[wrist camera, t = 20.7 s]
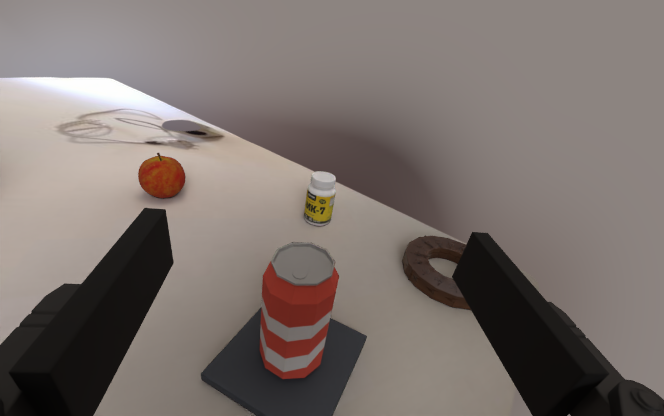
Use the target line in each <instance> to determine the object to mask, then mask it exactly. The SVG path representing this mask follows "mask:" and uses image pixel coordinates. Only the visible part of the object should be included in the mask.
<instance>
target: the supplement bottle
mask: <svg viewBox="0 0 664 416" xmlns="http://www.w3.org/2000/svg"><path fill="white" fill-rule="evenodd" d="M335 180H336V178H335V176H334V175H332V174H331V173H327V172H322V171H321V172H320V171H319V172H314V173H313V174H312V177H311V183H310V184H309V186H308V189H307V197H306V204H305V212H304V218H305V220H306V221H307V222H308V223H310V224H312V225H316V226H323V225H326V224H328V223H329V222H330V220H331V215H332V210H333V205H334V199H335V194H336V189H335V187H334V186H335Z"/></svg>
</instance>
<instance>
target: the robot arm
mask: <svg viewBox="0 0 664 416" xmlns="http://www.w3.org/2000/svg"><path fill="white" fill-rule="evenodd" d="M172 265H173V256H172V249H171V243H170V236H169V229H168V223H167V216H166V210H165V209H151V208H144V209H143V211H142V212H141V213H140V214H139V215H138V217H137V218H136V219H135V220H134V221H133V223H132V224H131V225H130V226H129V227H128V229H127V230H126V231H125V232H124V234H123V235H122V236H121V237H120V238H119V240H118V241H117V242H116V243H115V244H114V246H113V247H112V248H111V249H110V250H109V252H108V253H107V254H106V255H105V256H104V258H103V259H102V260H101V261H100V262H99V264H98V265H97V266H96V267H95V268H94V270H93V271H92V272H91V273H90V274H89V276H88V277H87V278H86V279H85V281H84V282H83V283H82V284H63V285H62V286H60V287H59V288H57V289H56V290H54V291H53V292H51V293H50V294H48V295H46V296H45V297H44V298H43V299H42V300H41V302H40V303H39V304H38V305H37V306H36V307H35V308H34V309H33V310H32V313H31V314H29V315H28V316H27V317H26V318H25V319H24V320H23V321H22V322H21V323H20V326H19V327H16V329H15V330H14V331H13V332H12V333H11V334H10V335H9V336H8V337H7V338H6V339H5V340H4V342H3V343H2V344H1V345H0V416H93V415H94V413H95V412H96V410H97V408H98V406H99V404H100V402H101V400H102V398H103V396H104V394H105V393H106V391H107V389H108V387H109V385H110V383H111V381H112V379H113V377H114V375H115V373H116V372H117V370H118V368H119V366H120V364H121V362H122V360H123V358H124V356H125V354H126V353H127V351H128V349H129V347H130V345H131V343H132V341H133V339H134V337H135V335H136V333H137V332H138V330H139V328H140V326H141V324H142V322H143V320H144V318H145V316H146V314H147V313H148V311H149V309H150V307H151V305H152V303H153V301H154V299H155V297H156V295H157V293H158V292H159V290H160V288H161V286H162V284H163V282H164V280H165V278H166V276H167V274H168V273H169V271H170V269H171V267H172ZM452 278H453V280H454V281H455V283H456V285H457V287H458V288H459V290H460V292H461V293H462V295H463V297H464V299H465V300H466V302H467V304H468V305H469V307H470V309H471V311H472V312H473V314H474V316H475V317H476V319H477V321H478V323H479V324H480V326H481V328H482V329H483V331H484V333H485V335H486V336H487V338H488V340H489V342H490V343H491V345H492V347H493V348H494V350H495V352H496V354H497V355H498V357H499V359H500V360H501V362H502V364H503V366H504V367H505V369H506V371H507V372H508V374H509V376H510V378H511V379H512V381H513V383H514V384H515V386H516V388H517V390H518V391H519V393H520V395H521V396H522V398H523V400H524V402H525V403H526V405H527V407H528V408H529V410H530V412H531V414H532V415H533V416H567V415H568V414H570V415H571V416H664V400H663V399H662V398H661V397H660V396H659V395H657V394H656V393H655V392H654V391H652V390H651V389H649V388H647V387H646V386H644V385H642V384H640V383H637V382H635V381H632V380H625V379H624V378H623V377H622V376H621V375H620V374H619V372H618V371H617V370H616V369H615V368H614V367H613V366H612V365H611V364H610V362H608V360H607V359H606V358H605V357H604V356H603V355H602V354H601V352H600V351H599V350H598V349H597V348H596V347H595V346H594V345H593V343H592V342H591V341H590V340H589V339H588V338H586V337H585V335H584V333H582V331H581V330H580V329H579V328H577V327H576V325H575V324H574V322H573V321H572V320H571V319H570V318H569V317H568V316H567V314H566V313H564V312H563V311H562V310H561V309H559V308H558V307H556V306H555V305H554V304H553V303H551V302H547V301H546V300H545V299H544V298H543V297H542V295H541V294H540V293H539V292H538V291H537V290H536V288H535V287H534V286H533V285H532V284H531V283H530V281H529V280H528V279H527V278H526V277H525V276H524V275H523V273H522V272H521V271H520V270H519V269H518V268H517V266H516V265H515V264H514V263H513V262H512V261H511V260H510V258H509V257H508V256H507V255H506V254H505V253H504V252H503V250H502V249H501V248H500V247H499V246H498V245H497V243H495V241H494V240H493V239H492V238H491V236H490V235H489V234H488V233H478V232H472V234H471V236H470V238H469V241H468V243H467V245H466V247H465V249H464V251H463V254H462V256H461V258H460V260H459V263H458V265H457V267H456V269H455V271H454V274H453V276H452Z"/></svg>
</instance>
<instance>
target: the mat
mask: <svg viewBox="0 0 664 416" xmlns="http://www.w3.org/2000/svg"><path fill="white" fill-rule="evenodd" d="M260 328H261V308H260V309H259V310H258V312H257V313H256V314H255V315H254V316H253V317H252V318H251V319H250V320H249V321H248V322H247V324H246V325H245V326H244V327H243V328H242V329H241V330H240V331H239V332H238V333H237V335H236V336H235V337H234V338H233V339H232V340H231V341H230V342H229V343H228V344H227V346H226V347H225V348H224V349H223V350H222V351H221V352H220V353H219V354H218V355H217V357H216V358H215V359H214V360H213V361H212V362H211V363H210V364H209V365H208V366H207V367H206V369H205V370H204V371H203V372H202V373H201V379H202V380H203V381H204V382H206V383H208V384H209V385H211V386H212V387H214V388H215V389H217V390H218V391H220V392H221V393H223V394H225V395H226V396H228V397H229V398H231V399H232V400H234V401H235V402H237V403H239V404H240V405H242V406H243V407H245V408H246V409H248V410H249V411H251V412H253V413H254V414H256V415H257V416H332V415H333V413H334V411H335V408H336V406H337V404H338V402H339V399H340V397H341V395H342V393H343V390H344V388H345V386H346V384H347V381H348V379H349V377H350V375H351V372H352V370H353V368H354V366H355V363H356V361H357V359H358V357H359V354H360V352H361V350H362V348H363V345H364V343H365V341H366V337H367V336H366V335H364V334H362V333H360V332H358V331H356V330H353V329H351V328H349V327H347V326H345V325H343V324H341V323H339V322H337V321H335V320H333V319H331V318H330V321H329V326H328V331H327V335H326V340H325V345H324V349H323V354H322V359H321V363H320V365H319V366H318V367H317V368H316V369H315V370H313V371H312V372H311V373H310V374H308V375H307V376H306V377H305V378H291V379H282V378H280V377H279V376H277V375H276V374H274V373H273V372H271V371H270V370H268V369H266V368H265V365H264V362H263V359H262V356H261V353H260Z"/></svg>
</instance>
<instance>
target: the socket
mask: <svg viewBox="0 0 664 416" xmlns="http://www.w3.org/2000/svg"><path fill="white" fill-rule="evenodd" d="M465 247H466V245H465V244H463V243H460V242H457V241H454V240H452V239H449V238H443V237H437V236H424V237H419V238H417V239H415V240H413V241H411V242H410V243H409V244H408V247H407V249H406V251H405V254H404V257H403V260H402V262H403V267H404V271H405V274H406V275H407V276H408V278H409V279H408V280H410V281H411V282H412V283H413V284H414V286H415V287H417V288H418V289H419V290H421V291H422V292H423V293H425V294H426V295H427V296H429V297H430V298H432V299H434V300H436V301H439V302H441V303H443V304H446V305H448V306H451V307H455V308H462V309H469V310H471V309H470V307H469V305H468V304H467V302H466V300H465V299H464V297H463V295H462V293H461V292H460V290H459V288H458V287H457V285H456V283H455V281H454V280H453V279H450V278H448V277H445V276H443V275H442V274H440V273H439V272H437V271H436V270H435V269H434V268H433V267H432V266H431V265H430V264H429V261H428V259H430V258H443V259H447V260H450V261H453V262H455V263H457V264H458V263H459V260H460V258H461V256H462V254H463V251H464V249H465Z"/></svg>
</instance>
